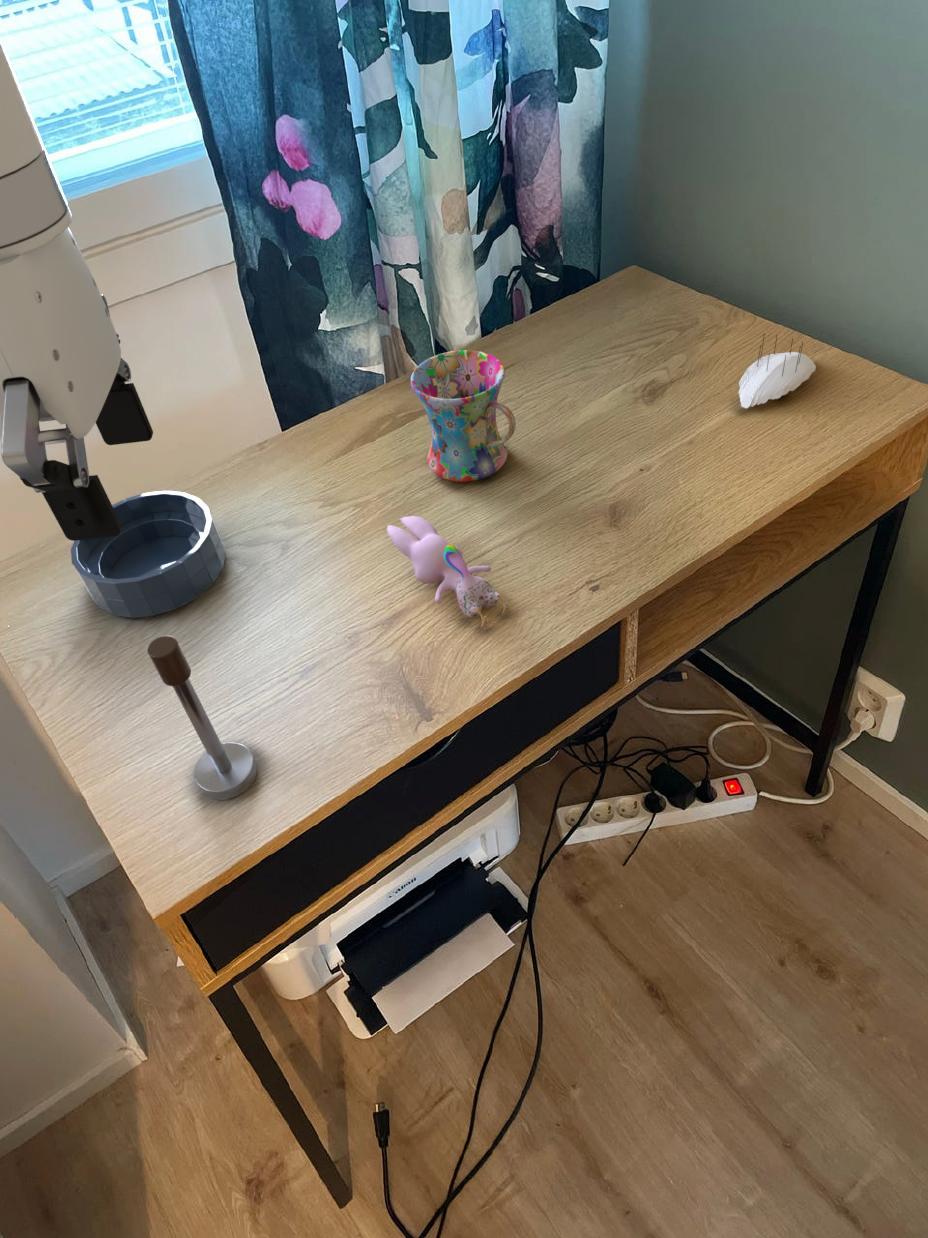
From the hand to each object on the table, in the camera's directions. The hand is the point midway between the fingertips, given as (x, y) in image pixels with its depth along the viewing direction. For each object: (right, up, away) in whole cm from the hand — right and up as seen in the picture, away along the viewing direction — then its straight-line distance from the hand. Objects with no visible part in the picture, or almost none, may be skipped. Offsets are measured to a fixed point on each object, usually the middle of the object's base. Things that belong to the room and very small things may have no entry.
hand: (114, 485), depth 56 cm
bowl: (-8, -4, +32) cm, 33 cm away
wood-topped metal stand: (+4, -21, +14) cm, 25 cm away
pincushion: (+56, +17, +43) cm, 73 cm away
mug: (+23, +7, +38) cm, 46 cm away
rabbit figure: (+20, -5, +27) cm, 34 cm away
